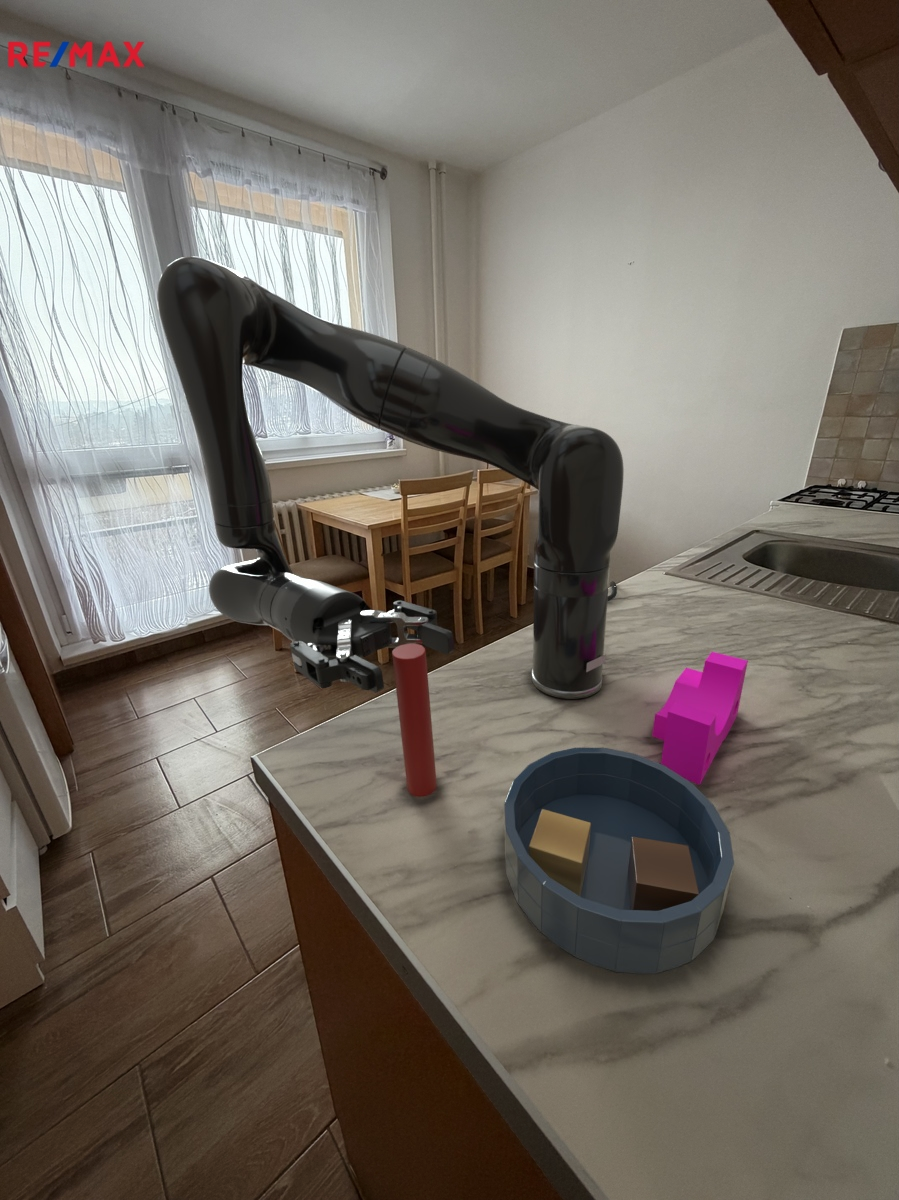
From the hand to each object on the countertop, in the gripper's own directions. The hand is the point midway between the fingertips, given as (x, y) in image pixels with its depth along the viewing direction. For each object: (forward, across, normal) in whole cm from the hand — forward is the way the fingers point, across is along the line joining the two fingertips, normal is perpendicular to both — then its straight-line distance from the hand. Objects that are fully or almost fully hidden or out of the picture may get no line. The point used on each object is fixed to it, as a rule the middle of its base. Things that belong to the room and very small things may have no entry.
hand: (417, 661), depth 43 cm
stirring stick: (-1, 0, +15) cm, 15 cm away
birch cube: (+14, +1, +15) cm, 21 cm away
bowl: (+17, +4, +15) cm, 23 cm away
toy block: (+16, +25, +15) cm, 34 cm away
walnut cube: (+21, +3, +15) cm, 26 cm away
